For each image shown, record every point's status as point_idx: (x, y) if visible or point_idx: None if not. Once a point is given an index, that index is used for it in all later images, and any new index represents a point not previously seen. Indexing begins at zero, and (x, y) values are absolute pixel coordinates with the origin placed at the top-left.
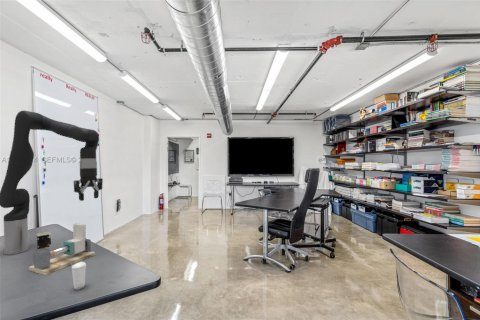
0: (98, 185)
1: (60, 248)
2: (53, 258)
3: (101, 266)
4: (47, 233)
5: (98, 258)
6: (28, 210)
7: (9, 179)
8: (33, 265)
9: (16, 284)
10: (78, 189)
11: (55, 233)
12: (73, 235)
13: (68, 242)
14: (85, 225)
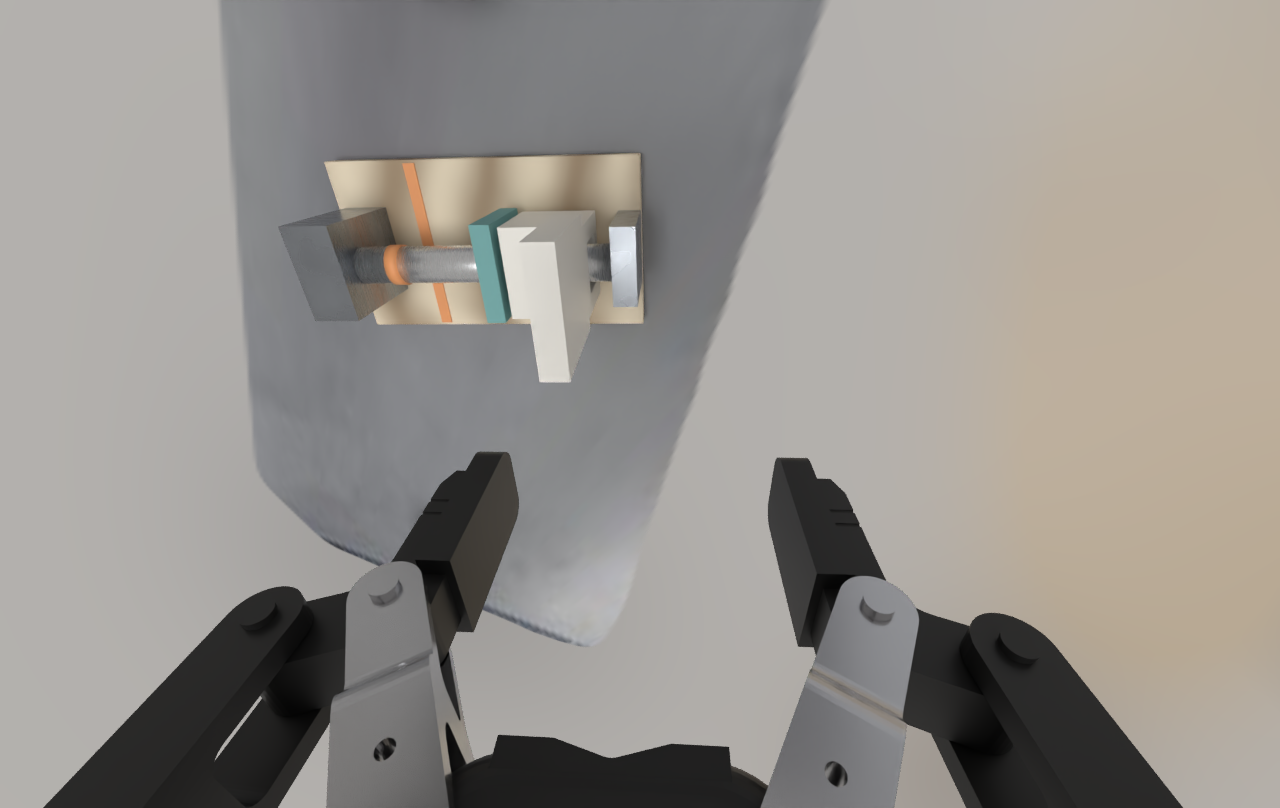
0: (1061, 781)
1: (442, 273)
2: (458, 163)
3: (571, 457)
4: None
5: (621, 372)
6: None
7: None
8: (347, 165)
9: (281, 293)
10: (280, 749)
11: None
12: (547, 220)
13: (481, 291)
14: (570, 378)
